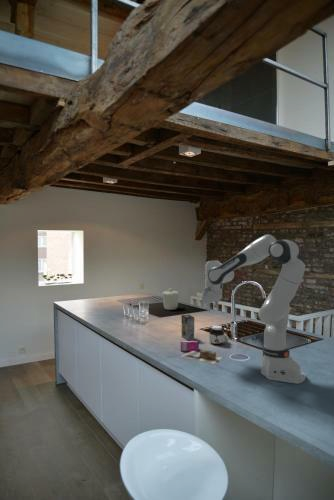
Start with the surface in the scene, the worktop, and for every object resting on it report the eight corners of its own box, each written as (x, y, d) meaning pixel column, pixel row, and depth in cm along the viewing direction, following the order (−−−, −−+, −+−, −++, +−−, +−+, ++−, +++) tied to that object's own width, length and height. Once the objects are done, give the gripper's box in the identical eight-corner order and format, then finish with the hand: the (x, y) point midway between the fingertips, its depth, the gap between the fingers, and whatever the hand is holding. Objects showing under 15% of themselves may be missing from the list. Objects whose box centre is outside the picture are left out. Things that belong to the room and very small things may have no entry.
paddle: (217, 357, 205) (217, 351, 205) (212, 361, 198) (212, 354, 198) (192, 352, 214) (192, 346, 213) (186, 356, 207) (186, 350, 207)
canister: (176, 311, 337) (176, 290, 337) (159, 310, 344) (159, 289, 343) (181, 307, 354) (181, 287, 354) (165, 306, 361) (165, 286, 360)
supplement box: (198, 350, 222) (180, 349, 222) (198, 340, 222) (180, 340, 223) (198, 351, 216) (180, 351, 216) (198, 341, 217) (180, 341, 217)
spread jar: (208, 344, 233) (208, 327, 233) (213, 339, 243) (213, 323, 243) (224, 346, 228) (224, 329, 227) (230, 342, 238) (230, 325, 237)
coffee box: (181, 336, 251) (181, 315, 250) (189, 335, 253) (189, 314, 253) (186, 340, 242) (186, 317, 242) (194, 339, 245) (194, 316, 244)
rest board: (222, 358, 205) (222, 357, 205) (213, 365, 195) (213, 363, 195) (191, 352, 217) (191, 350, 217) (181, 357, 207) (181, 356, 207)
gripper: (208, 289, 198) (208, 312, 198) (224, 284, 215) (224, 306, 215) (199, 288, 201) (199, 311, 202) (215, 284, 218) (215, 305, 219)
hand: (212, 309), depth 209 cm, fingers open, 8 cm apart
